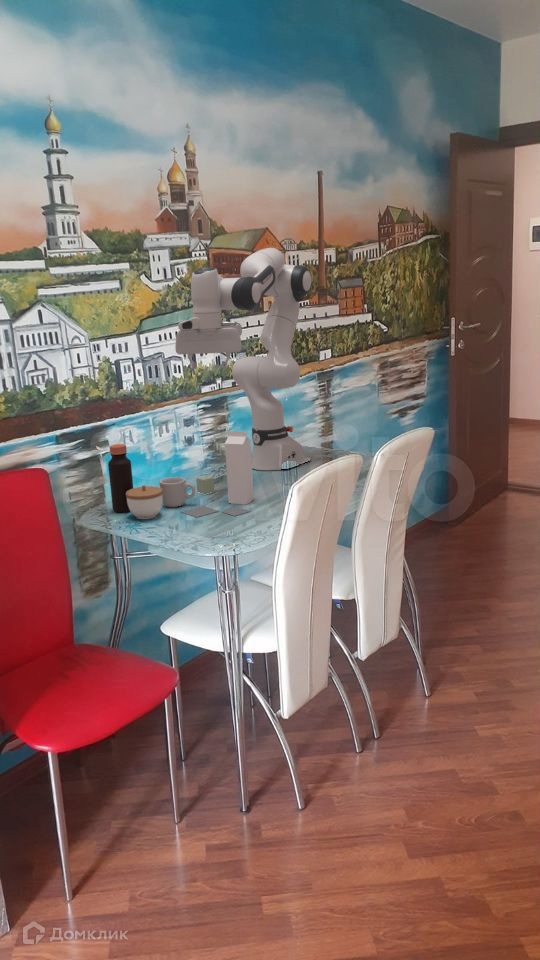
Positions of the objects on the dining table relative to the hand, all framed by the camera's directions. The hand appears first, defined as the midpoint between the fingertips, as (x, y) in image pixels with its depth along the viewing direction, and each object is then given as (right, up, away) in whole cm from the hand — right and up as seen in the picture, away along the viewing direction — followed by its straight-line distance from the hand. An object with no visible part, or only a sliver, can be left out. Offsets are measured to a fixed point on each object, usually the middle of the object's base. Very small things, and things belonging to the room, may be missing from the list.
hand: (209, 368), depth 256 cm
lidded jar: (-18, -45, -10) cm, 50 cm away
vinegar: (-26, -44, -2) cm, 51 cm away
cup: (-9, -42, 0) cm, 43 cm away
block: (-2, -39, +12) cm, 40 cm away
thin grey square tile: (-2, -44, -9) cm, 45 cm away
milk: (+10, -41, 0) cm, 42 cm away
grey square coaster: (+9, -44, -11) cm, 46 cm away
